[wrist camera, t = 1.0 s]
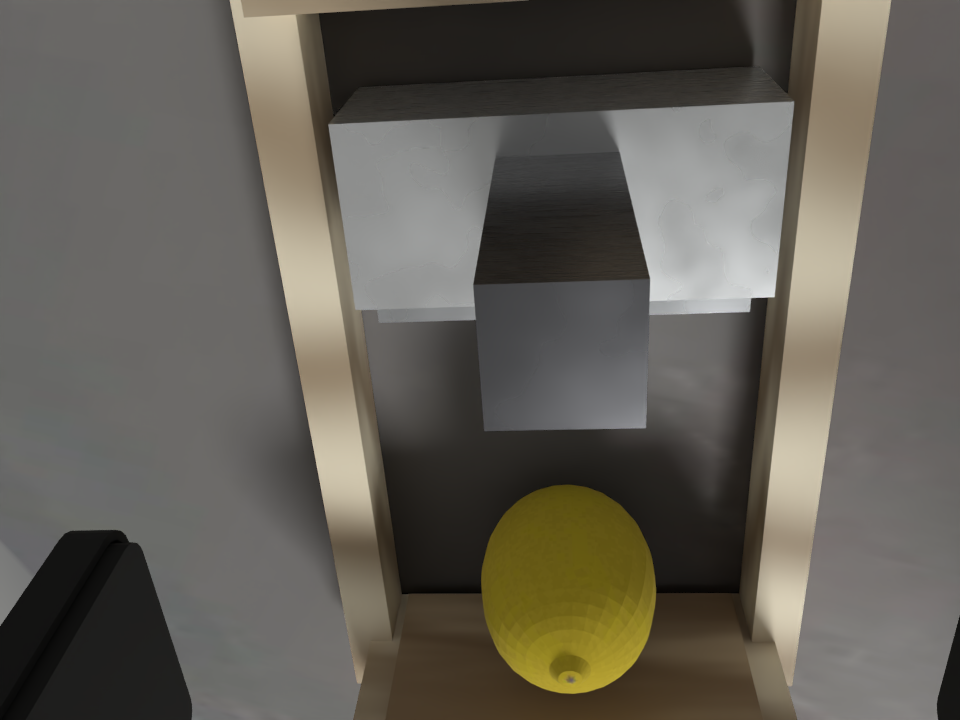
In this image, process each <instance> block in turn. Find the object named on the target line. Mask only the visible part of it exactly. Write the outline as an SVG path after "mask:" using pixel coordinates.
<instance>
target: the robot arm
mask: <svg viewBox="0 0 960 720" xmlns="http://www.w3.org/2000/svg"><path fill="white" fill-rule="evenodd" d="M937 714H938V720H960V617H959V621H958V624H957V628H956V632H955V636H954V639H953V643H952V647H951V651H950V654H949V658H948V662H947V666H946V669H945V673H944V677H943V681H942V684H941V688H940V692H939V695H938V701H937ZM191 719H192V703H191V698H190V695H189V692H188V689H187V686H186V683H185V679H184V676H183V673H182V670H181V667H180V664H179V661H178V658H177V655H176V652H175V649H174V646H173V643H172V640H171V636H170V633H169V630H168V627H167V624H166V621H165V618H164V615H163V612H162V609H161V606H160V603H159V600H158V597H157V594H156V590H155V587H154V584H153V581H152V578H151V575H150V572H149V569H148V566H147V563H146V560H145V557H144V554H143V551H142V549H141V547H140V546H139V545H138V544H137V543H129V541H128V539H127V537H126V535H125V534H124V533H123V532H122V531H118V530H92V531H70V532H68V533H65V534H64V535H63V537H62V538H61V539H60V540H59V541H58V543H57V544H56V546H55V547H54V549H53V550H52V552H51V553H50V554H49V556H48V557H47V559H46V560H45V562H44V563H43V565H42V566H41V568H40V569H39V570H38V572H37V573H36V575H35V576H34V578H33V579H32V581H31V582H30V584H29V585H28V587H27V588H26V589H25V591H24V592H23V594H22V595H21V597H20V598H19V600H18V601H17V603H16V604H15V606H14V607H13V608H12V610H11V611H10V613H9V614H8V616H7V617H6V619H5V620H4V622H3V623H2V624H1V626H0V720H191Z"/></svg>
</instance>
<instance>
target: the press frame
mask: <svg viewBox="0 0 960 720" xmlns="http://www.w3.org/2000/svg"><path fill="white" fill-rule="evenodd" d="M511 1H527V0H230V4H231V9H232V15H233V20H234V25H235V31H236V36H237V41H238V47H239V52H240V57H241V63H242V68H243V74H244V79H245V84H246V90H247V95H248V100H249V106H250V111H251V116H252V122H253V127H254V133H255V138H256V143H257V149H258V154H259V159H260V165H261V170H262V175H263V181H264V186H265V191H266V197H267V202H268V208H269V213H270V218H271V224H272V229H273V234H274V240H275V245H276V250H277V256H278V261H279V266H280V272H281V277H282V283H283V288H284V293H285V299H286V304H287V309H288V315H289V320H290V325H291V331H292V336H293V341H294V347H295V352H296V358H297V363H298V368H299V374H300V379H301V384H302V390H303V395H304V400H305V406H306V411H307V417H308V422H309V427H310V433H311V438H312V443H313V449H314V454H315V459H316V465H317V470H318V475H319V481H320V486H321V492H322V497H323V502H324V508H325V513H326V518H327V524H328V529H329V534H330V540H331V545H332V550H333V556H334V561H335V567H336V572H337V577H338V583H339V588H340V593H341V599H342V604H343V609H344V615H345V620H346V626H347V631H348V636H349V642H350V647H351V652H352V658H353V663H354V668H355V674H356V679H357V683H361V687H360V692H359V696H358V701H357V705H356V710H355V714H354V719H353V720H797V717H796V713H795V710H794V706H793V703H792V699H791V696H790V693H789V689H788V686H792V683H793V676H794V669H795V662H796V655H797V648H798V641H799V634H800V627H801V620H802V614H803V607H804V600H805V593H806V586H807V579H808V572H809V565H810V558H811V551H812V544H813V537H814V531H815V524H816V517H817V510H818V503H819V496H820V489H821V482H822V475H823V468H824V461H825V454H826V448H827V441H828V434H829V427H830V420H831V413H832V406H833V399H834V392H835V385H836V378H837V371H838V365H839V358H840V351H841V344H842V337H843V330H844V323H845V316H846V309H847V302H848V295H849V288H850V282H851V275H852V268H853V261H854V254H855V247H856V240H857V233H858V226H859V219H860V212H861V205H862V199H863V192H864V185H865V178H866V171H867V164H868V157H869V150H870V143H871V136H872V129H873V122H874V116H875V109H876V102H877V95H878V88H879V81H880V74H881V67H882V60H883V53H884V46H885V39H886V33H887V26H888V19H889V12H890V5H891V0H797V4H796V14H795V25H794V35H793V45H792V55H791V66H790V76H789V86H788V96H789V97H790V98H791V99H792V100H793V101H794V110H793V120H792V130H791V140H790V150H789V159H788V169H787V179H786V189H785V199H784V209H783V219H782V229H781V238H780V248H779V258H778V268H777V278H776V288H775V297H768V302H767V312H766V322H765V333H764V343H763V353H762V364H761V374H760V384H759V394H758V405H757V415H756V425H755V435H754V446H753V456H752V466H751V476H750V487H749V497H748V507H747V518H746V528H745V538H744V548H743V559H742V569H741V579H740V589H739V593H735V594H732V593H656V602H655V609H654V614H653V619H652V624H651V629H650V633H649V636H648V640H647V642H646V644H645V646H644V648H643V650H642V652H641V653H640V655H639V657H638V658H637V660H636V661H635V663H634V664H633V665H632V666H631V667H630V668H629V669H628V670H627V671H626V672H625V673H624V674H623V675H622V676H621V677H619V678H618V679H616V680H615V681H613V682H611V683H610V684H608V685H606V686H604V687H602V688H599V689H595V690H592V691H589V692H584V693H576V694H569V693H558V692H554V691H549V690H546V689H543V688H541V687H538V686H536V685H534V684H532V683H530V682H529V681H527V680H526V679H524V678H523V677H522V676H520V675H519V674H517V673H516V672H515V671H513V669H512V668H511V667H510V666H509V665H508V663H507V662H506V661H505V660H504V659H503V657H502V656H501V655H500V654H499V652H498V650H497V648H496V646H495V644H494V641H493V639H492V637H491V634H490V632H489V629H488V626H487V623H486V619H485V615H484V609H483V599H482V594H402V592H401V585H400V578H399V571H398V564H397V557H396V550H395V543H394V536H393V529H392V522H391V515H390V508H389V501H388V494H387V487H386V480H385V473H384V466H383V459H382V452H381V445H380V438H379V431H378V424H377V417H376V410H375V403H374V396H373V389H372V382H371V375H370V368H369V361H368V354H367V347H366V340H365V333H364V326H363V319H362V312H361V310H355V303H354V297H353V290H352V283H351V276H350V269H349V262H348V256H347V249H346V242H345V235H344V228H343V221H342V215H341V208H340V201H339V194H338V187H337V181H336V174H335V167H334V160H333V153H332V146H331V140H330V133H329V126H328V124H329V123H330V122H331V120H332V119H333V118H334V117H333V110H332V103H331V96H330V89H329V82H328V75H327V68H326V61H325V54H324V47H323V40H322V33H321V26H320V19H319V13H329V12H346V11H362V10H379V9H395V8H412V7H428V6H445V5H461V4H478V3H494V2H511Z"/></svg>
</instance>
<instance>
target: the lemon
mask: <svg viewBox="0 0 960 720" xmlns="http://www.w3.org/2000/svg"><path fill="white" fill-rule="evenodd" d="M481 587H482V599H483V609H484V615H485V619H486V623H487V626H488V629H489V632H490V634H491V637H492V639H493V641H494V644H495V646H496V648H497V650H498V652H499V654H500V655H501V656H502V657H503V659H504V660H505V661H506V662H507V663H508V665H509V666H510V667H511V668H512V669H513V671H515V672H516V673H517V674H519V675H520V676H522V677H523V678H524V679H526V680H527V681H529V682H530V683H532V684H534V685H536V686H538V687H541V688H543V689H546V690H549V691H554V692H558V693H569V694H576V693H584V692H589V691H592V690H595V689H599V688H602V687H604V686H606V685H608V684H610V683H611V682H613V681H615V680H616V679H618V678H619V677H621V676H622V675H623V674H624V673H625V672H626V671H627V670H628V669H629V668H630V667H631V666H632V665H633V664H634V663H635V661H636V660H637V658H638V657H639V655H640V653H641V652H642V650H643V648H644V646H645V644H646V642H647V640H648V636H649V633H650V629H651V624H652V619H653V614H654V609H655V602H656V583H655V575H654V567H653V561H652V556H651V553H650V550H649V547H648V545H647V543H646V541H645V539H644V537H643V535H642V532H641V530H640V528H639V527H638V525H637V523H636V522H635V520H634V519H633V518H632V517H631V516H630V515H629V514H628V513H627V512H626V511H625V509H624V508H623V507H622V506H621V505H620V504H618V503H617V502H616V501H614V500H612V499H611V498H609V497H608V496H606V495H605V494H603V493H601V492H599V491H596V490H593V489H590V488H588V487H583V486H576V485H554V486H550V487H546V488H543V489H539V490H536V491H534V492H532V493H530V494H528V495H526V496H525V497H523V498H521V499H520V500H519V501H517V502H516V503H515V504H514V505H513V506H512V507H511V508H510V509H509V510H507V511H506V513H505V514H504V515H503V516H502V518H501V520H500V521H499V523H498V524H497V526H496V527H495V529H494V531H493V533H492V535H491V537H490V539H489V542H488V546H487V550H486V554H485V558H484V562H483V566H482V573H481Z"/></svg>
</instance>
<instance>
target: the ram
mask: <svg viewBox="0 0 960 720" xmlns="http://www.w3.org/2000/svg"><path fill="white" fill-rule="evenodd" d="M793 110H794V101H793V100H792V99H791V98H790V97H789V96H788V95H787V94H786V93H785V92H784V91H783V90H782V89H781V88H780V87H779V86H778V85H777V84H776V83H775V82H774V81H773V79H772V78H771V77H770V76H769V75H768V74H767V73H766V72H765V71H764V70H763V69H762V68H761V67H760V66H754V67H735V68H716V69H697V70H678V71H659V72H641V73H622V74H603V75H584V76H565V77H546V78H527V79H508V80H490V81H471V82H452V83H433V84H414V85H395V86H376V87H358V89H357V90H356V91H355V92H354V93H353V95H352V96H351V97H350V98H349V100H348V101H347V102H346V103H345V105H344V106H343V107H342V108H341V109H340V111H339V112H338V113H337V114H336V116H335V117H334V118H333V119H332V120H331V122H330V123H329V124H328V126H329V133H330V140H331V146H332V153H333V160H334V167H335V174H336V181H337V187H338V194H339V201H340V208H341V215H342V221H343V228H344V235H345V242H346V249H347V256H348V262H349V269H350V276H351V283H352V290H353V297H354V303H355V310H376V309H377V312H378V320H379V323H390V322H424V321H458V320H476V330H477V343H478V357H479V370H480V383H481V396H482V410H483V423H484V431H516V430H571V429H625V428H646V412H647V377H648V341H649V315H662V314H696V313H730V312H750V305H751V298H767V297H775V288H776V278H777V268H778V258H779V248H780V238H781V229H782V219H783V209H784V199H785V189H786V179H787V169H788V159H789V150H790V140H791V130H792V120H793Z"/></svg>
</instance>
